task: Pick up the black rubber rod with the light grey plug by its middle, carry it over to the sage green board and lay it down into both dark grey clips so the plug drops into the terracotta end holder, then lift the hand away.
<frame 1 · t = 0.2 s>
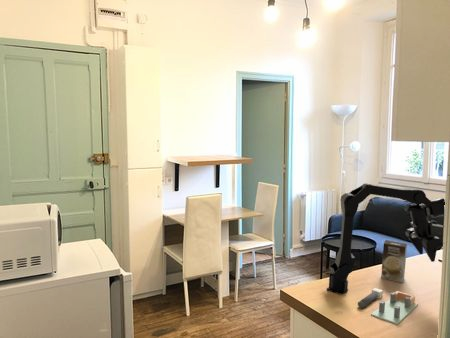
hand: (427, 257, 147), 15 cm above the kitchen counter, tool pointing down, fingers open, 9 cm apart
clip board: (393, 311, 134), on the kitchen counter
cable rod: (367, 302, 140), on the kitchen counter
coffee box: (392, 278, 165), on the kitchen counter
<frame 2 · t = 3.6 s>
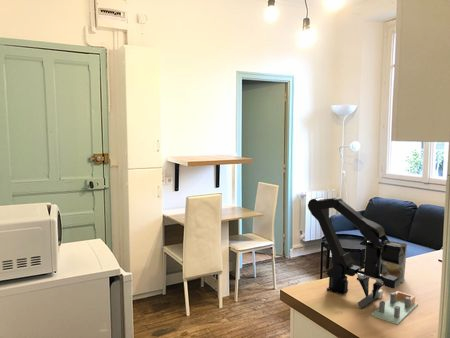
hand: (370, 297, 142), 1 cm above the kitchen counter, tool pointing down, fingers closed on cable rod, 2 cm apart
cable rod: (367, 302, 140), on the kitchen counter, touching gripper
everything else where it was.
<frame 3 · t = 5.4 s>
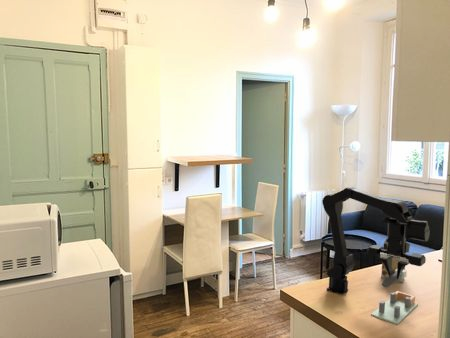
hand: (394, 277, 135), 11 cm above the kitchen counter, tool pointing down, fingers closed on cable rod, 2 cm apart
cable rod: (391, 282, 133), point 10 cm above the kitchen counter, touching gripper
everything else where it was.
when the fingers open (2 cm above the kitchen counter, at t = 7.3 s): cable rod stays where it is, resting on clip board.
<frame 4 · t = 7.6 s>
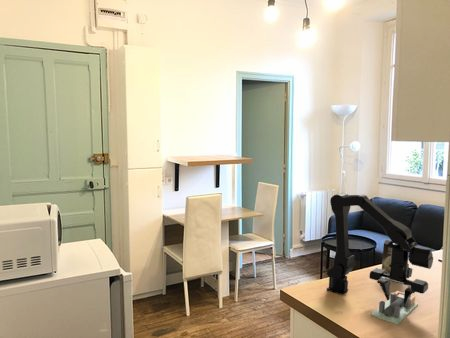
hand: (396, 302, 135), 2 cm above the kitchen counter, tool pointing down, fingers open, 6 cm apart
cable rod: (393, 309, 134), resting on clip board
everything else where it was.
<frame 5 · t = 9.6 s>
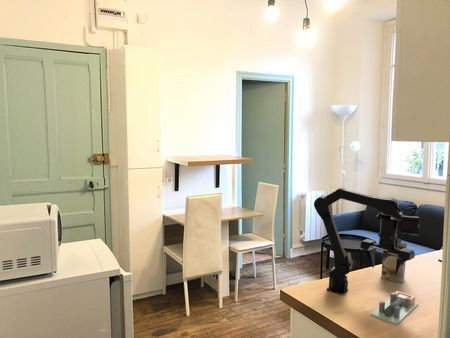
hand: (384, 270, 142), 11 cm above the kitchen counter, tool pointing down, fingers open, 9 cm apart
nothing on the kitchen counter moved.
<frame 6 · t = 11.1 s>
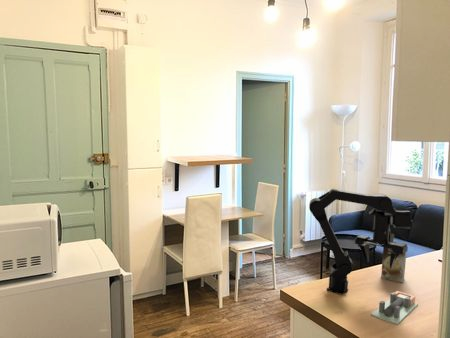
hand: (379, 265, 146), 12 cm above the kitchen counter, tool pointing down, fingers open, 9 cm apart
nothing on the kitchen counter moved.
at the end: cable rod 0.0 cm off-centre on the clip board, point 0.5 cm above the clip board's base; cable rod tilted 0°; the gripper is holding nothing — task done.
